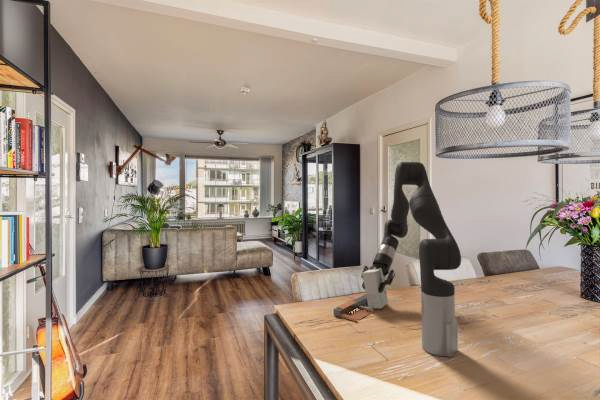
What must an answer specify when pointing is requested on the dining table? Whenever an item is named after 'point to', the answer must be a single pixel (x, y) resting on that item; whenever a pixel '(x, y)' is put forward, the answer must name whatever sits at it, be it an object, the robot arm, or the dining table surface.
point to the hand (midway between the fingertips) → (371, 290)
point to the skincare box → (374, 289)
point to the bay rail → (350, 306)
